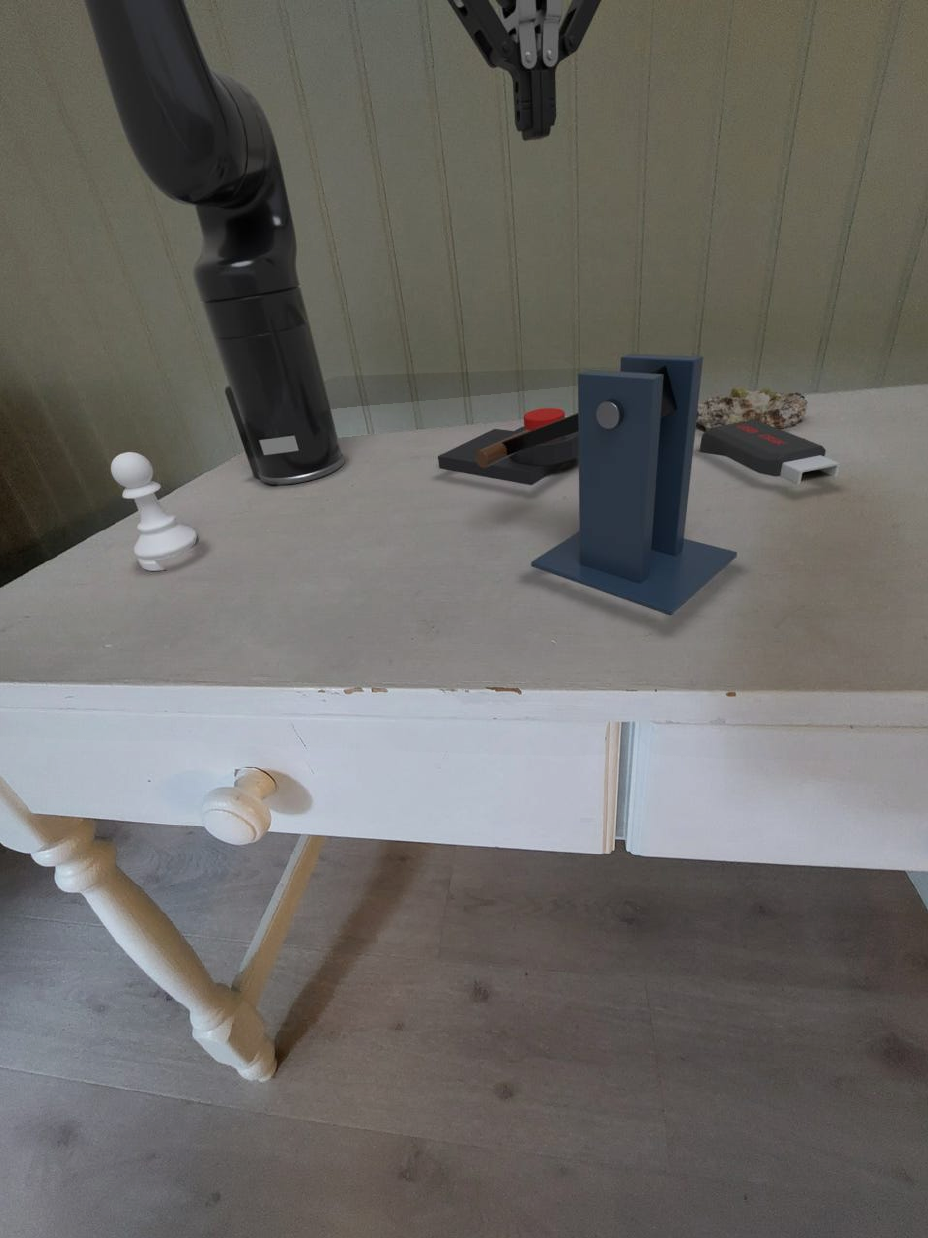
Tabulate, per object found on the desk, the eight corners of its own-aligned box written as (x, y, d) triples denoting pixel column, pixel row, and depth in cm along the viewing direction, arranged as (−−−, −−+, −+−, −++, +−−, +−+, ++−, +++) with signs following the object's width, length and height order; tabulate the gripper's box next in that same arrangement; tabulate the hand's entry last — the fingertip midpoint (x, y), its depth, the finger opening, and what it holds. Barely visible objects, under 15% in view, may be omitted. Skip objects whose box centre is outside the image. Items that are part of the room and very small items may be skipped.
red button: (517, 440, 51) (515, 417, 50) (539, 428, 53) (538, 406, 52) (550, 445, 49) (549, 421, 48) (572, 432, 51) (572, 409, 50)
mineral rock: (709, 419, 53) (691, 376, 58) (699, 458, 57) (683, 414, 62) (830, 410, 52) (801, 368, 57) (813, 451, 56) (787, 407, 61)
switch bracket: (531, 578, 38) (518, 377, 31) (600, 532, 42) (603, 346, 35) (669, 630, 32) (693, 391, 24) (734, 569, 36) (771, 351, 29)
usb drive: (750, 442, 54) (755, 413, 52) (845, 485, 44) (854, 450, 42) (698, 452, 53) (702, 423, 51) (783, 498, 43) (790, 463, 42)
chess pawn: (157, 577, 45) (102, 469, 40) (131, 563, 48) (78, 460, 43) (213, 551, 48) (170, 446, 43) (186, 539, 51) (142, 439, 46)
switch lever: (482, 478, 39) (469, 444, 38) (528, 455, 42) (517, 423, 41) (642, 428, 29) (628, 380, 28) (690, 402, 31) (679, 358, 31)
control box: (440, 477, 56) (434, 437, 54) (496, 448, 61) (492, 410, 59) (549, 499, 49) (547, 453, 46) (601, 464, 54) (602, 421, 52)
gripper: (587, -190, 39) (587, 138, 49) (402, -193, 36) (441, 155, 46) (652, -273, 33) (637, 120, 43) (436, -285, 30) (473, 138, 40)
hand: (535, 137), depth 44 cm, fingers closed
